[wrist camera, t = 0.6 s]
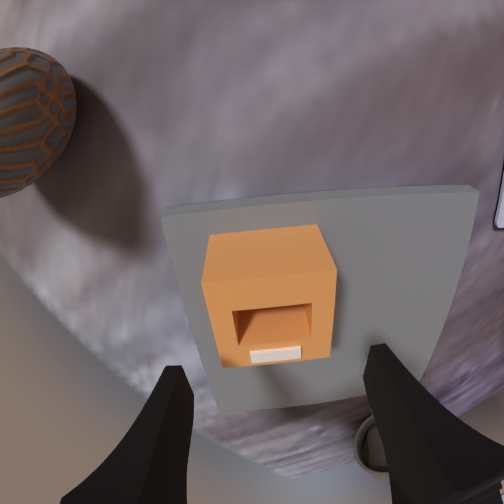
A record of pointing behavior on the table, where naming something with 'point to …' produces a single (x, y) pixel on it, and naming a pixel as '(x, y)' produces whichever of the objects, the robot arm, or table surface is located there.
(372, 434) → the ceramic mug
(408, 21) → the table surface
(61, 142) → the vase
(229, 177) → the table surface
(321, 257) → the orange cubby crate
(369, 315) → the board
